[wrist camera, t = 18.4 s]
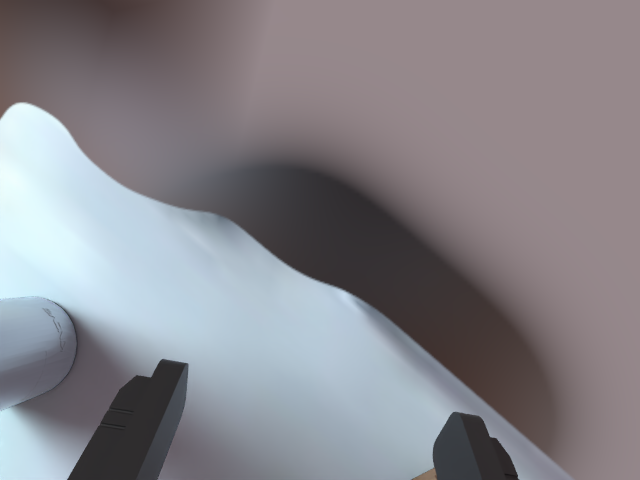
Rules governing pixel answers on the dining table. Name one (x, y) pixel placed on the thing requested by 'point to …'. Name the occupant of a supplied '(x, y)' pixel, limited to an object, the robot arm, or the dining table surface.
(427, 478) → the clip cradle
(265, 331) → the dining table surface
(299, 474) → the dining table surface
